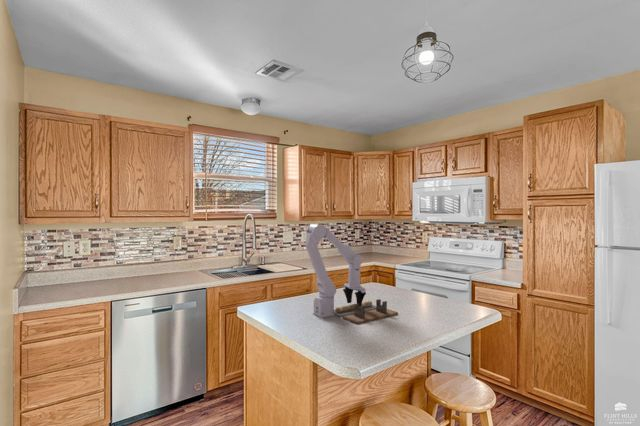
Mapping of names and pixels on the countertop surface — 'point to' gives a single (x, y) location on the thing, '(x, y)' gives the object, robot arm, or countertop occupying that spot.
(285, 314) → the countertop surface
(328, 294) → the robot arm
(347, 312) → the mat
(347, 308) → the rail
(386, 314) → the hook stand
